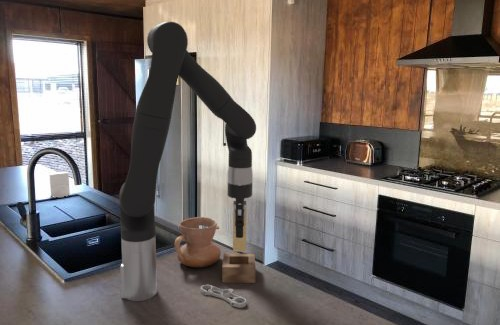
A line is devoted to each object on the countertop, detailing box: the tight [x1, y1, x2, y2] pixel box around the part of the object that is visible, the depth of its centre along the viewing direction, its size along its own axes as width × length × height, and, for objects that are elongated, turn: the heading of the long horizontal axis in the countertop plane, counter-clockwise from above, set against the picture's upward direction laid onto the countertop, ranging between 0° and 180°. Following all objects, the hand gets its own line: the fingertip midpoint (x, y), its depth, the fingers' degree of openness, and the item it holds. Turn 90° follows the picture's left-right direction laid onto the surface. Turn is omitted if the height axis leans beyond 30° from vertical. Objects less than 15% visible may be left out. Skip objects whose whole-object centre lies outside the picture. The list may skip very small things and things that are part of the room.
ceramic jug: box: [174, 216, 222, 268], centre depth 137 cm, size 18×14×14 cm
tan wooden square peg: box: [232, 204, 248, 253], centre depth 126 cm, size 4×4×14 cm
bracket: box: [200, 284, 247, 309], centre depth 115 cm, size 8×2×15 cm
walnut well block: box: [221, 253, 256, 284], centre depth 129 cm, size 10×10×5 cm
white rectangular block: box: [49, 171, 71, 198], centre depth 216 cm, size 9×9×12 cm
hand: (239, 234), depth 127 cm, fingers closed on tan wooden square peg, 4 cm apart
